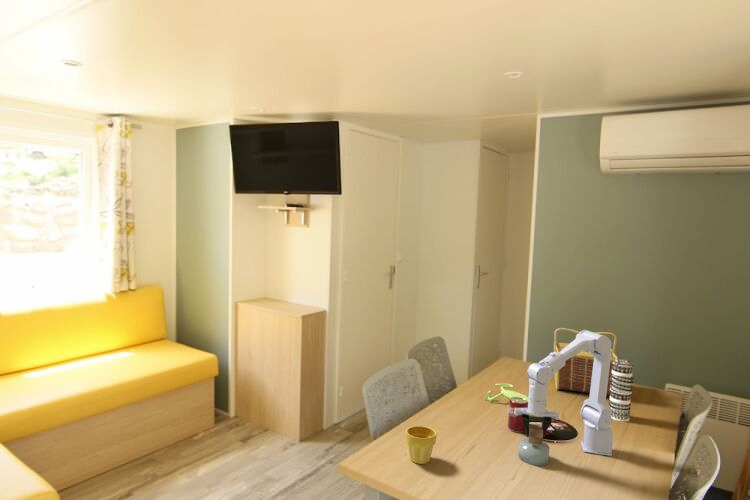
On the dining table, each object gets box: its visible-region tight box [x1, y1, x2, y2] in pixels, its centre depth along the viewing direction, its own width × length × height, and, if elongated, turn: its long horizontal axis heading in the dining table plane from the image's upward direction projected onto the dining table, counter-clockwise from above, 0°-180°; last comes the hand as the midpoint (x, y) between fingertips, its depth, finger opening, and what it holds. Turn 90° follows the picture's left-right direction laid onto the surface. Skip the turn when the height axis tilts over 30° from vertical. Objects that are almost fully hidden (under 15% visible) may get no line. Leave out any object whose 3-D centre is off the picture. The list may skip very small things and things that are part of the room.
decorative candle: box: [608, 358, 634, 422], centre depth 206 cm, size 9×9×25 cm
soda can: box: [507, 397, 528, 434], centre depth 191 cm, size 7×7×12 cm
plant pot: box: [405, 425, 437, 465], centre depth 164 cm, size 10×10×10 cm
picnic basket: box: [553, 327, 619, 397], centre depth 242 cm, size 29×26×30 cm
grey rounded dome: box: [518, 438, 550, 467], centre depth 168 cm, size 10×10×5 cm
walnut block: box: [526, 423, 544, 444], centre depth 167 cm, size 4×4×5 cm
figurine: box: [484, 383, 529, 402], centre depth 220 cm, size 18×27×6 cm
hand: (534, 436), depth 167 cm, fingers closed on walnut block, 4 cm apart
